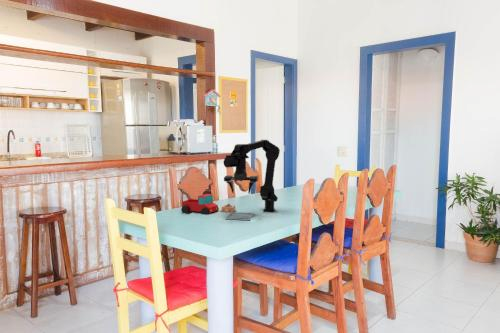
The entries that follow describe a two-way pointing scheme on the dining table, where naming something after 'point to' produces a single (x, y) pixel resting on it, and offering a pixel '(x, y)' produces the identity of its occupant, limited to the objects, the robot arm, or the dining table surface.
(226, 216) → the tray
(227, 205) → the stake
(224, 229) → the dining table surface
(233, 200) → the dining table surface
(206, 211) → the toy truck
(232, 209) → the ring
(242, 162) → the robot arm
